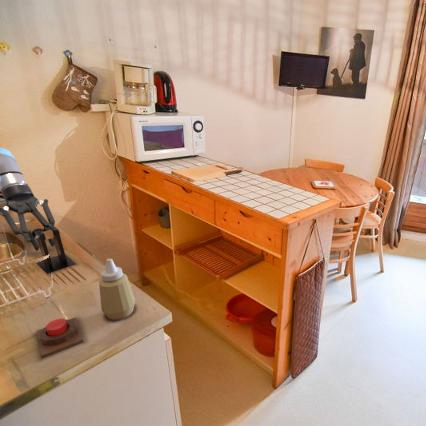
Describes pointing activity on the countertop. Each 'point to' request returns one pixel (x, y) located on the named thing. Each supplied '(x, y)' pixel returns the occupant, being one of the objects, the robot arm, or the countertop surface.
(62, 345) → the button box
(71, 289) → the countertop surface
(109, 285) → the squeeze bottle
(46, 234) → the lever
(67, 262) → the bracket
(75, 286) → the countertop surface
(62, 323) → the button
